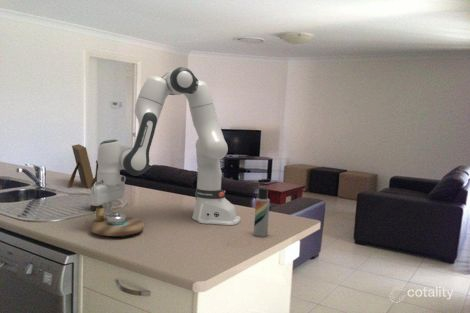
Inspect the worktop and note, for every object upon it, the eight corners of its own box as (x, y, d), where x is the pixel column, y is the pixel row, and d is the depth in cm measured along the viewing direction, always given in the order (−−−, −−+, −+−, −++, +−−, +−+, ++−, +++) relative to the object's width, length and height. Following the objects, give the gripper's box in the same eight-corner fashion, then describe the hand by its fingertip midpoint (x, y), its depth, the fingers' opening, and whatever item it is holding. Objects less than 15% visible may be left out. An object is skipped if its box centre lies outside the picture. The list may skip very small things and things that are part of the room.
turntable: (152, 224, 162) (152, 208, 161) (127, 238, 143) (128, 219, 142) (108, 219, 167) (109, 203, 166) (79, 231, 147) (79, 213, 147)
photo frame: (87, 182, 256) (88, 144, 254) (95, 188, 238) (95, 147, 235) (63, 183, 249) (63, 144, 246) (69, 189, 230) (69, 147, 228)
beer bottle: (89, 212, 182) (90, 161, 180) (91, 208, 190) (92, 159, 187) (107, 211, 184) (108, 161, 182) (108, 207, 192) (109, 159, 189)
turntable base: (141, 229, 160) (142, 226, 160) (124, 239, 146) (124, 235, 146) (111, 225, 163) (111, 222, 163) (91, 234, 150) (91, 231, 150)
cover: (128, 222, 156) (129, 212, 156) (117, 226, 150) (117, 216, 149) (114, 219, 159) (114, 210, 158) (102, 223, 152) (102, 213, 152)
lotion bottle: (259, 232, 165) (261, 185, 163) (270, 235, 162) (273, 187, 160) (250, 234, 161) (253, 186, 159) (262, 238, 157) (265, 189, 155)
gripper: (100, 183, 150) (99, 218, 151) (127, 176, 170) (126, 207, 171) (86, 182, 151) (85, 217, 153) (114, 175, 171) (113, 206, 173)
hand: (107, 212), depth 162 cm, fingers closed
